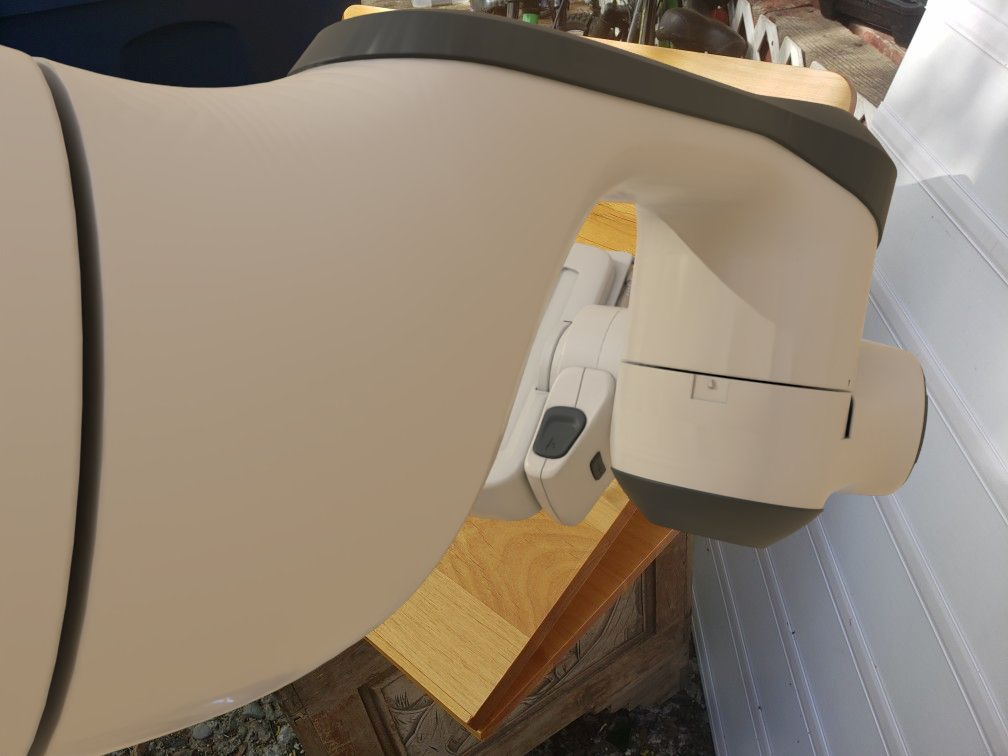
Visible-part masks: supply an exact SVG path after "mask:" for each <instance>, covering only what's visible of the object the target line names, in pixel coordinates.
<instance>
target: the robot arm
mask: <svg viewBox="0 0 1008 756" xmlns="http://www.w3.org/2000/svg"><path fill="white" fill-rule="evenodd" d="M897 178H898V169H897V166H896V164H895V162H894V161H893V159H892V158H891V157H890V154H889V153H888V152H887V150H886V149H885V148H884V146H883V145H882V143H881V142H880V140H879V139H878V138H877V137H876V135H874V134H873V133H872V131H870V129H869V128H868V127H867V126H866V125H865V124H864V123H863V122H862V121H860V120H859V119H858V118H857V117H856V116H855V115H854V114H852V113H851V112H849V111H847V110H846V109H844V108H840V107H837V106H834V105H830V104H826V103H820V102H813V101H808V100H801V99H795V98H787V97H779V96H772V95H765V94H758V93H755V92H751V91H747V90H745V89H741V88H738V87H735V86H733V85H730V84H728V83H724V82H721V81H718V80H715V79H711V78H709V77H706V76H703V75H700V74H697V73H694V72H691V71H687V70H686V69H682V68H679V67H676V66H674V65H671V64H667V63H664V62H662V61H659V60H657V59H653V58H650V57H648V56H645V55H642V54H638V53H635V52H632V51H630V50H626V49H623V48H620V47H617V46H613V45H610V44H608V43H604V42H602V41H598V40H595V39H591V38H588V37H584V36H580V35H577V34H574V33H571V32H567V31H563V30H560V29H557V28H553V27H549V26H545V25H542V24H537V23H534V22H529V21H525V20H521V19H519V18H518V19H517V18H512V17H508V16H503V15H498V14H493V13H487V12H481V11H474V10H465V9H456V8H455V9H453V8H426V7H425V8H422V7H421V8H402V9H401V8H400V9H392V10H386V11H385V10H384V11H377V12H371V13H366V14H365V13H364V14H361V15H355V16H351V17H349V18H345V19H342V20H339V21H337V22H334V23H332V24H330V25H328V26H326V27H324V28H322V29H321V30H320V31H319V32H318V33H317V34H316V36H315V37H314V38H313V40H312V41H311V43H310V44H309V45H308V46H307V48H306V49H305V50H304V52H303V53H302V54H301V56H300V57H299V59H297V61H296V62H295V64H294V65H293V66H292V67H291V69H290V70H289V72H288V73H287V74H286V77H285V76H284V77H283V78H279V79H275V80H271V81H268V82H259V83H254V84H247V85H239V86H227V87H226V86H225V87H185V86H173V85H172V86H171V85H163V84H156V83H147V82H140V81H135V80H131V79H126V78H121V77H117V76H111V75H106V74H102V73H98V72H95V71H90V70H87V69H83V68H79V67H75V66H71V65H69V64H68V65H67V64H65V63H61V62H57V61H54V60H51V59H48V58H46V57H40V56H31V55H30V54H27V53H26V52H24V51H22V50H19V49H15V48H12V47H9V46H5V45H2V44H0V756H105V755H108V754H111V753H114V752H116V751H120V750H123V749H127V748H130V747H133V746H136V745H137V746H138V745H139V744H143V743H145V742H148V741H152V740H155V739H157V738H160V737H163V736H167V735H170V734H173V733H176V732H179V731H181V730H184V729H187V728H189V727H191V726H192V727H193V726H194V725H198V724H201V723H204V722H206V721H208V720H211V719H214V718H216V717H219V716H222V715H224V714H227V713H229V712H232V711H234V710H237V709H239V708H242V707H244V706H246V705H249V704H251V703H252V702H255V701H258V700H259V699H261V698H264V697H266V696H268V695H270V694H272V693H274V692H277V691H278V690H280V689H283V688H284V687H286V686H288V685H289V684H292V683H294V682H296V681H298V680H299V679H301V678H302V677H304V676H306V675H308V674H309V673H311V672H313V671H314V670H317V669H318V668H319V667H321V666H322V665H324V664H326V663H327V662H328V661H330V660H332V659H334V658H335V657H337V656H338V655H340V654H341V653H343V652H344V651H346V650H347V649H348V648H350V647H352V646H353V645H355V644H357V643H358V642H360V641H361V640H362V639H364V638H365V637H367V636H368V635H369V634H371V633H372V632H374V631H375V630H376V629H377V628H379V627H380V626H381V625H383V624H384V623H386V621H387V620H388V619H390V618H391V617H392V616H393V615H394V614H395V613H397V612H398V611H399V609H401V608H402V607H403V606H404V605H406V603H407V602H408V601H409V600H410V598H412V597H413V595H414V594H415V593H417V591H418V590H419V589H420V587H422V585H423V584H424V583H425V582H426V581H427V579H428V578H429V577H430V575H431V574H432V573H433V572H434V571H435V569H436V568H437V566H438V565H439V563H440V562H441V561H442V560H443V558H444V557H445V556H446V554H447V552H448V551H449V549H450V547H451V546H452V544H453V543H454V541H455V540H456V538H457V537H458V534H459V533H460V531H461V530H462V528H463V526H464V524H465V523H466V522H467V519H468V518H469V517H471V518H478V519H484V520H491V521H498V522H499V521H501V522H519V521H524V520H527V519H530V518H532V517H535V516H536V515H538V514H539V513H540V512H541V511H542V510H543V512H544V513H545V514H546V515H547V516H548V517H549V518H550V519H551V520H552V521H553V522H555V523H556V524H559V525H562V526H567V527H575V526H579V524H581V523H582V522H583V521H584V520H585V519H586V517H587V516H588V515H589V513H590V512H591V510H592V509H593V508H594V506H596V504H597V502H598V501H599V499H601V497H602V496H603V494H604V493H605V491H606V490H607V489H608V488H609V486H610V485H611V484H612V482H613V481H614V480H616V482H617V484H618V485H619V487H620V488H621V490H622V491H623V492H624V494H625V496H626V497H627V498H628V499H629V501H630V502H631V503H632V505H633V506H634V507H635V508H636V509H637V510H638V511H639V512H640V513H641V515H643V517H644V518H645V519H646V520H647V521H648V523H650V524H652V525H655V526H659V527H662V528H666V529H670V530H672V531H673V530H674V531H678V532H682V533H686V534H690V535H694V536H699V537H703V538H706V539H712V540H715V541H718V542H719V541H720V542H723V543H728V544H733V545H737V546H742V547H746V548H751V549H752V548H753V549H760V550H763V549H766V548H768V547H771V546H773V545H774V544H777V543H778V542H780V541H783V540H784V539H786V538H788V537H789V536H791V535H793V534H794V533H796V532H798V531H799V530H801V529H803V528H804V527H805V526H807V525H808V524H810V523H811V522H813V521H814V520H815V519H816V518H817V517H818V516H820V515H821V514H822V513H823V512H825V508H824V506H825V503H827V502H826V501H827V500H828V498H829V497H830V496H831V495H832V494H839V495H840V494H841V495H842V494H843V495H855V496H867V497H885V496H890V495H892V494H894V493H896V492H897V491H898V490H900V488H902V486H903V485H905V483H906V482H907V481H908V479H909V478H910V475H911V474H912V472H913V469H914V467H915V465H916V464H917V463H918V460H919V458H920V454H921V451H922V448H923V445H924V439H925V435H926V430H927V422H928V413H929V412H928V411H929V395H928V394H927V393H928V392H927V383H926V376H925V373H924V369H923V366H922V365H921V362H920V360H919V359H918V358H917V356H916V355H914V354H913V353H912V352H910V351H909V350H906V349H903V348H899V347H897V346H893V345H890V344H886V343H882V342H878V341H874V340H870V339H865V338H863V336H864V335H863V334H864V329H865V323H866V317H867V309H868V304H869V297H870V291H871V285H872V280H873V272H874V268H875V267H874V266H875V261H876V255H877V250H878V249H879V247H880V245H881V242H882V239H883V235H884V231H885V227H886V223H887V219H888V215H889V211H890V206H891V204H892V203H891V202H892V199H893V195H894V191H895V187H896V182H897ZM598 203H611V204H626V205H634V210H635V211H634V212H635V221H636V243H635V245H636V246H635V255H633V253H630V252H627V251H622V250H621V251H620V250H607V249H603V248H601V247H598V246H594V245H591V244H588V243H582V242H577V241H576V240H577V238H578V237H579V234H580V233H581V230H582V228H583V227H584V225H585V223H586V221H587V220H588V219H589V217H590V215H591V214H592V212H593V210H594V209H595V208H596V207H597V205H598Z"/></svg>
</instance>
